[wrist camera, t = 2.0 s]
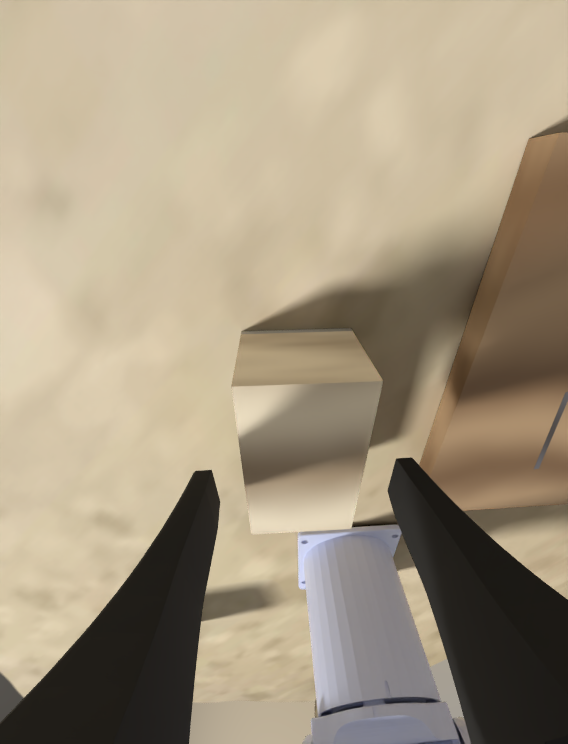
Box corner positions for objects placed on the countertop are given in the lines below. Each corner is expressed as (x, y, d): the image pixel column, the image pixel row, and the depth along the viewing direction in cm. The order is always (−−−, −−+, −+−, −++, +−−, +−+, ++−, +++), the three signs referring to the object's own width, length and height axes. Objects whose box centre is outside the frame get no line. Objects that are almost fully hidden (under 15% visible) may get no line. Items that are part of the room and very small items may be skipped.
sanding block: (333, 457, 18) (351, 528, 14) (254, 461, 18) (251, 534, 14) (349, 326, 13) (383, 381, 9) (241, 329, 13) (231, 386, 9)
